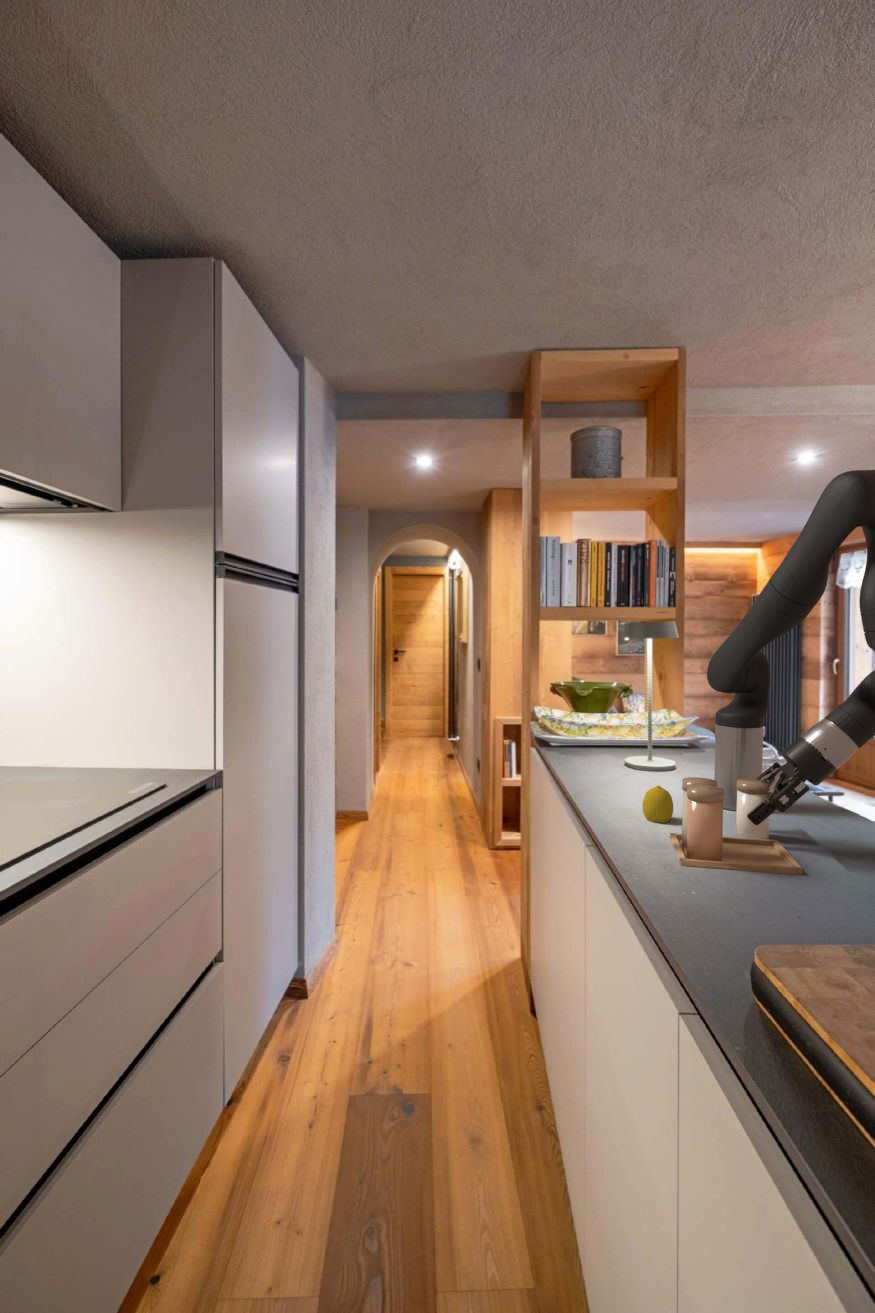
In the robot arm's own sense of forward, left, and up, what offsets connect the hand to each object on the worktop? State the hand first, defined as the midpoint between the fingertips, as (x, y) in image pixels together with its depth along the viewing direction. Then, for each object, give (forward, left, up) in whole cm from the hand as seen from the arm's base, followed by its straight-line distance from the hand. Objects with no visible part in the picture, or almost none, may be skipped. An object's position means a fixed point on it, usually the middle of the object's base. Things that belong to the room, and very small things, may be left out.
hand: (745, 814), depth 117 cm
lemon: (-7, -14, -6) cm, 17 cm away
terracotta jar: (+14, -9, -4) cm, 17 cm away
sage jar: (+8, -9, -4) cm, 13 cm away
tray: (+11, -4, -5) cm, 13 cm away
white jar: (0, +1, -5) cm, 5 cm away
